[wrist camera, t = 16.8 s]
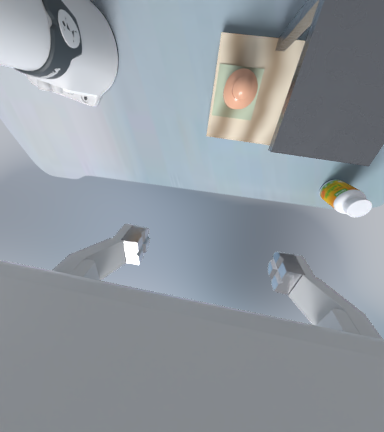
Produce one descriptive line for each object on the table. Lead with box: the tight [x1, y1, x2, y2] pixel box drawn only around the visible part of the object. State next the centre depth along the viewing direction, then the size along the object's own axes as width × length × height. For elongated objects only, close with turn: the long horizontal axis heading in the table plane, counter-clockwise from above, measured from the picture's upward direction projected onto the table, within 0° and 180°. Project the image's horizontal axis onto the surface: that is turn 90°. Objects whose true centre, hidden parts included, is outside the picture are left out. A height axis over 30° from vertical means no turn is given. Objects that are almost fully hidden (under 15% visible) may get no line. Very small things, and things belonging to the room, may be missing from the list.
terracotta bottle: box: [223, 68, 258, 109], centre depth 27 cm, size 5×5×10 cm
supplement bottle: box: [319, 180, 372, 217], centre depth 36 cm, size 5×5×10 cm
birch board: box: [207, 32, 305, 145], centre depth 32 cm, size 25×16×2 cm, turn 84°
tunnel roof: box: [268, 0, 384, 166], centre depth 24 cm, size 12×15×16 cm
